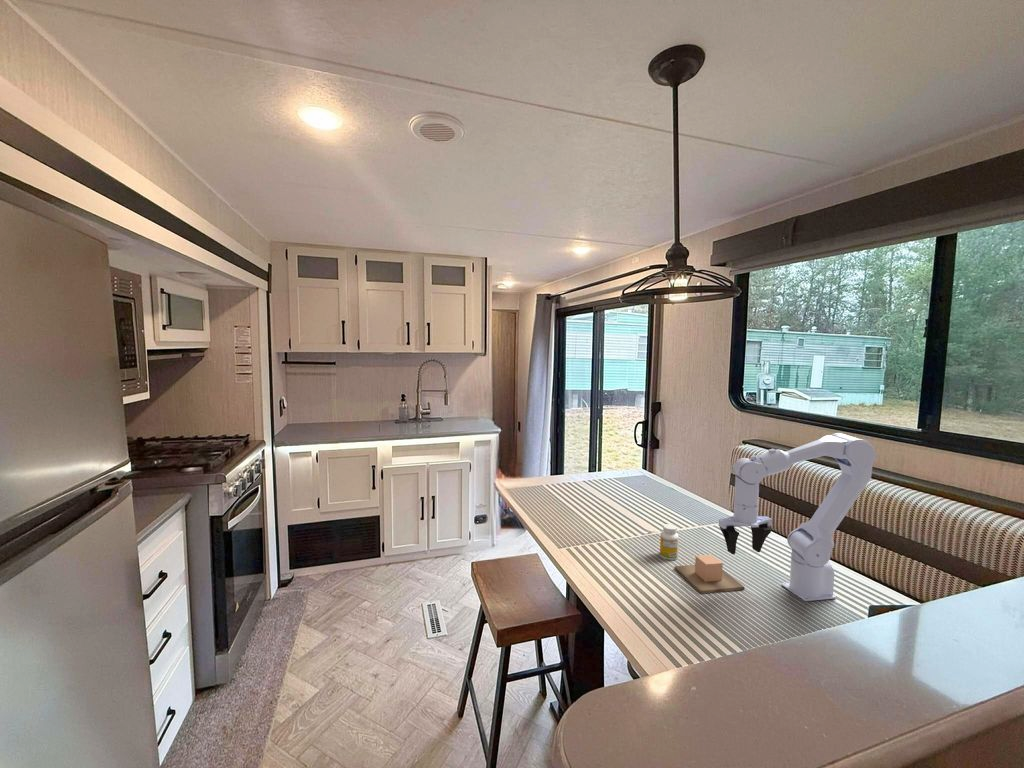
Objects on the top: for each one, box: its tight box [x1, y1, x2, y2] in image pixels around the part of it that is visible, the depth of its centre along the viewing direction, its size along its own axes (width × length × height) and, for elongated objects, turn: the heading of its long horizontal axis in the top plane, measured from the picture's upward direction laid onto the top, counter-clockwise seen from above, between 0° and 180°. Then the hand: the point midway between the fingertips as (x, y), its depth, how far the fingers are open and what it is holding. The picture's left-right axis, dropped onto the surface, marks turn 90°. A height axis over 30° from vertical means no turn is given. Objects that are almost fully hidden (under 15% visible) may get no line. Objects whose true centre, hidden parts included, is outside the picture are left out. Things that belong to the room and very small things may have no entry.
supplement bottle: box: [659, 523, 680, 561], centre depth 131 cm, size 5×5×10 cm
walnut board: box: [673, 564, 746, 594], centre depth 118 cm, size 13×13×1 cm
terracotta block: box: [694, 554, 724, 582], centre depth 118 cm, size 5×5×5 cm
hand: (743, 551), depth 114 cm, fingers open, 7 cm apart
